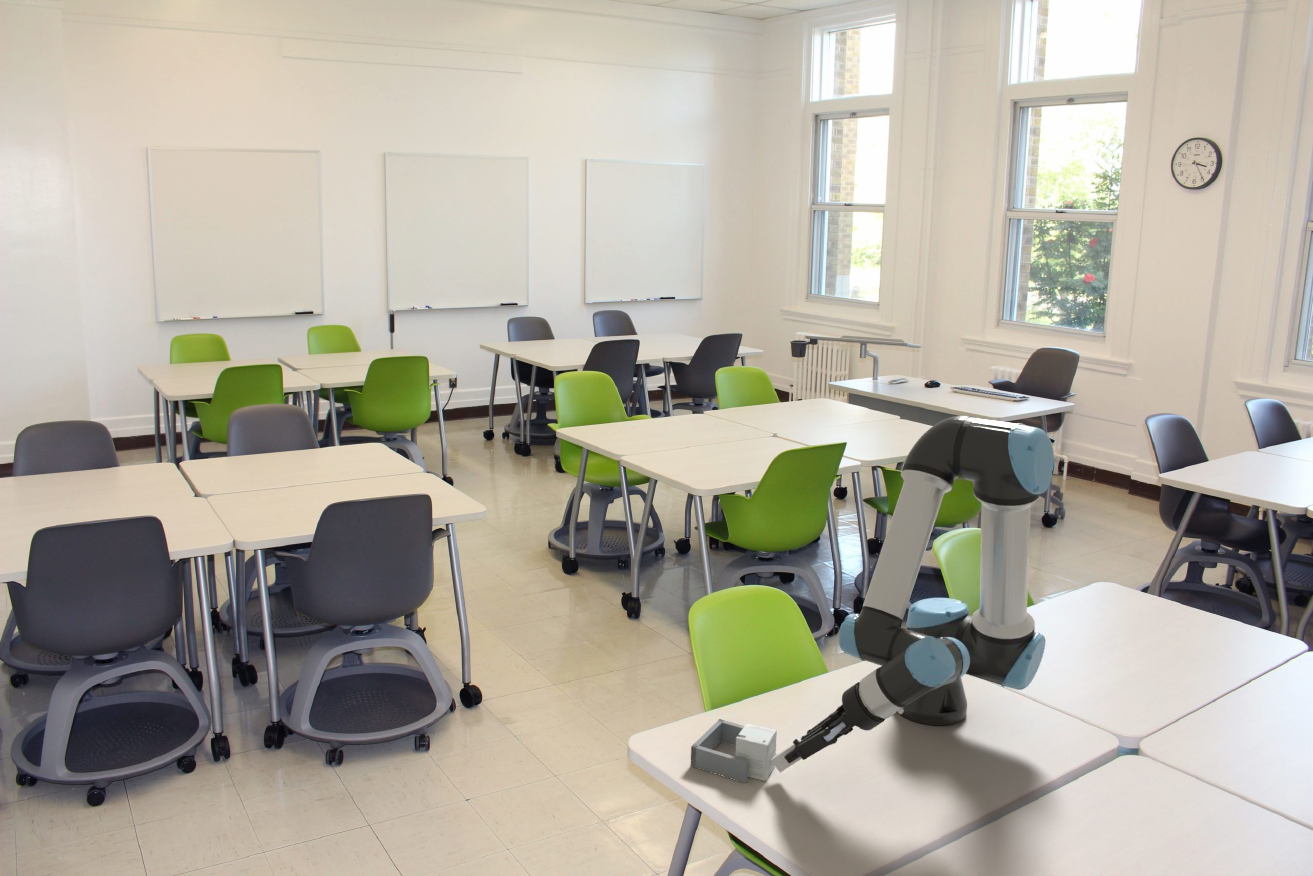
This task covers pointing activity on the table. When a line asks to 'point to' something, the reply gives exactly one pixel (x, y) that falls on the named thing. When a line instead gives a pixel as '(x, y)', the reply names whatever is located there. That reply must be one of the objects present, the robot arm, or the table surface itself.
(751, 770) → the skincare box
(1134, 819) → the table surface
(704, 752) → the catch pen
